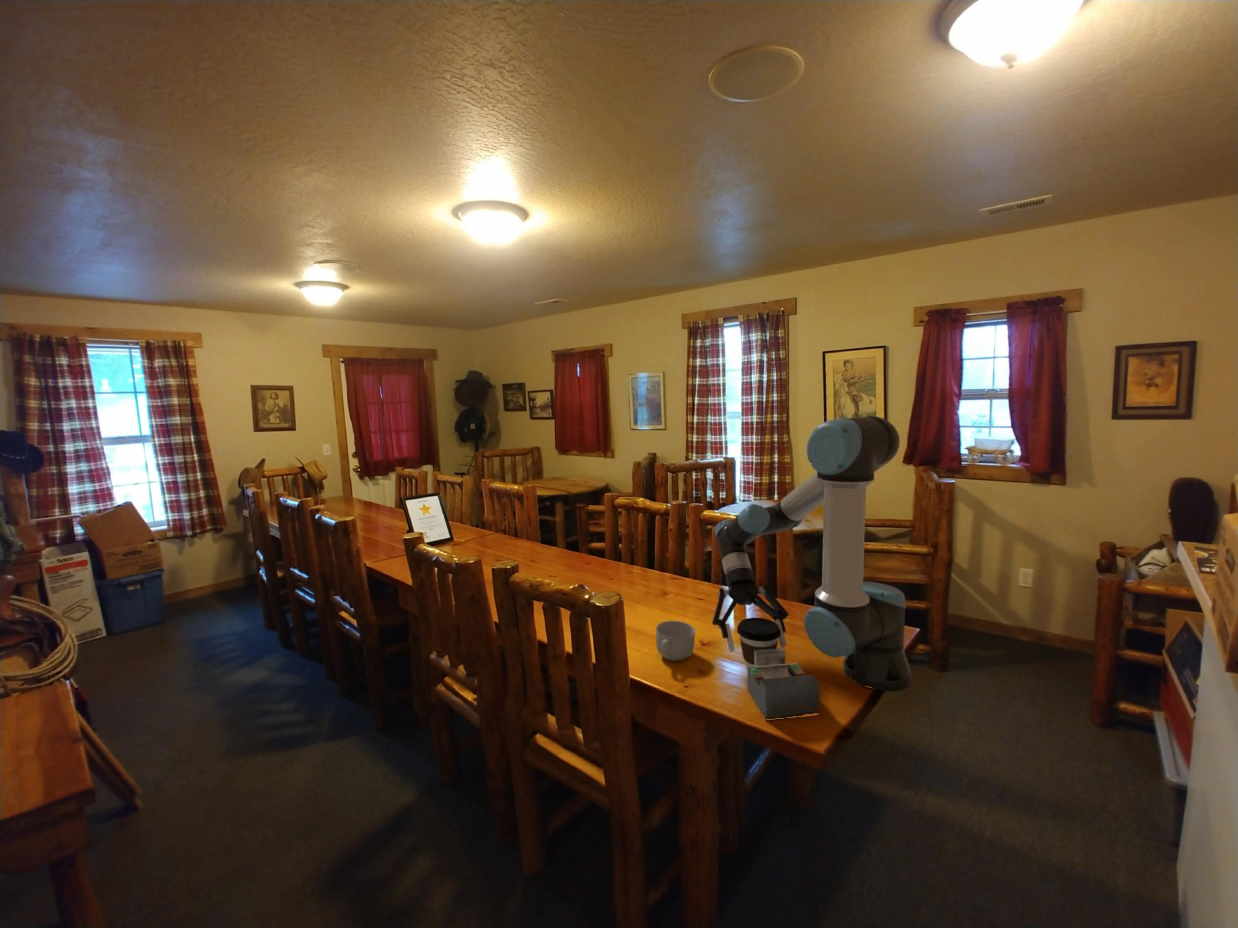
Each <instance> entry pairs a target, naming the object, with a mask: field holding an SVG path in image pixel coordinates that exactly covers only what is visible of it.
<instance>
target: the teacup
mask: <svg viewBox="0 0 1238 928" xmlns="http://www.w3.org/2000/svg"><path fill="white" fill-rule="evenodd" d="M695 634H696V629H695V627H694V626H693V625H692V624H689V623H687V622H684V621H680V620H668V621H663V622H660V623H659V624H657V625H656V627H655V645H656V650H657V652H658V653H659V654H660V655H661V657H663V658H664V659H666V660H667V661H668V660H669V661H671V662H680V661H684V660H686V659H688V658H689V657H690V656H691V655H692V654H693V652H694V650H695V649H694V648H695Z"/></svg>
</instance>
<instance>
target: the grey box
mask: <svg viewBox="0 0 1238 928" xmlns="http://www.w3.org/2000/svg"><path fill="white" fill-rule="evenodd" d="M787 670H788V672H789V673H790V674H791V675H792V677H781V678H771V679H763V676H762V675H761V673H760V672H759V670H752V668H748V670H747V692H749V693H750V694H749V693H748V694H749V696H750V695H751V696H750V697H752V698H753V699H752V698H751V699H752V700H754V701H755V703H756V704H755V703H754V704H755V706H756V705H757V706H758V708H759V709H760V711H761V712H762V714H763V715H764V717H765V719H775V718H786V717H793V716H802V715H805V714H813V713H819V711H820V710H819V708H820V707H819V706H820V705H819V704H820V703H819V701H820V681H818V679H817V678H816V677H815V676H814V674H807V675H806V672H805V671H804V670H803V669H802V668H801V666H799V664H798V666H791V667H787ZM754 701H753V702H754ZM757 706H756V707H757ZM758 708H757V709H758ZM759 709H758V710H759ZM760 711H759V712H760ZM761 712H760V713H761ZM762 714H761V715H762ZM764 717H763V718H764ZM765 719H764V720H765Z"/></svg>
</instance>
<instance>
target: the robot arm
mask: <svg viewBox="0 0 1238 928" xmlns="http://www.w3.org/2000/svg"><path fill="white" fill-rule="evenodd" d="M807 440H808V441H807V444H806V457H807V460H808V463H811V465H810V466H811V467H812V469H813V470H815V472H814V473H813V474H812V475H811V476H809V477H808V478H806V480H804V481H803V482H802V483H800V484H799V485H798V486H797V487H795V488H794V489H793V490H792V491H791V492H789V493H788V494H787V495H785V496H784V497H783V498H782V499H781V500H780V501H779V502H776V504H773V505H770V506H765V507H764V506H762V505H759V504H757V503H752V504H749V505H747V506H746V507H745V508H743V509H742V510H741V511H740V512H739V514H738V515H736V517H735V518H734V519H726V520H725V519H724V520H722V521H721V522H718V523H717V524H716V525H715V527H714V533H715V540H716V543H717V547H718V553H719V555H720V559H721V563H722V568H723V571H724V574H725V581H726V585H727V588H728V589H724V588H723V587H721V588H719V590H718V592H717V596H718V598H717V599H718V601H717V605H716V607H715V611H714V615H713V618H712V622H711V623H712V625H713V626H718V627H719V629H720V633H721V635H722V637H721V638H723V639H724V640H725V639H726V642H727V646H728V650H729V653H733V652H734V650H735V649H736V648H735V644H734V639H733V634H732V630H731V626H730V623H727V621H728V620H729V617H730V616H731V614H733V613H732V612H733V610H734V608H735V607H736V605H739V606H740V607H741V606H745V605H747V606H750V605H751V606H752V605H753V606H756V607H757V608H759V609H760V610H762V611H763V612H764V613H765V614H767V615H768V616H769V617H770V619H771V618H772V620H773V621H774V622H775V623H776V624H777V625H778V626H779V628H780V631H781V635H780V636H779V638H778V639H777V640H778V643H779V646H780V647H779V648H785V646H786V645H787V642H786V637H785V633H786V631H787V630H786V626H785V622H784V620H786V619H787V618H788V616H789V612H788V611H787V610H786V608H784V607H783V606H782V604H781V603H780V601H778V599H777V598H776V597H775V596H774V595H773V593H772V592H771V589H770V588H769V586H768V584H764V585H763V586H760V587H759V586H757V584H756V580H755V577H754V574H753V570H752V566H751V562H750V559H749V556H748V555H749V554H748V552H747V548H746V546H747V545H748V544H750V543H751V542H752V541H753V540H755V539H756V538H758V537H760V536H765V535H769V534H773V533H777V532H783V531H788V530H792V529H795V528H798V527H799V526H800V525H801V524H802V520H803V519H804V518H805V517H807V515H809V514H810V513H812V512H813V511H814V510H816V509H818V508H819V507H820V506H822V505H823V519H822V520H823V526H822V531H823V532H822V568H821V570H822V571H821V572H822V574H821V575H822V576H821V577H822V578H821V585H820V587H818V588H816V590H815V592H814V607H813V606H812V607H811V608H809V609H808V611H806V613H805V614H804V617H803V627H804V630H805V633H806V635H807V637H808V639H809V640H810V641H811V643H812V645H813V646H814V647H815V648H816V649H817V650H818V651H820V652H821V653H822V654H824V655H826V656H828V657H831V658H841V657H842V658H843V657H844V658H843V660H842V661H843V664H842V671H843V670H844V671H843V673H844V672H845V673H844V675H845V674H846V675H847V676H848V677H850V678H851V679H852V680H854V681H856V682H857V683H859V684H861V685H863V686H869V687H872V688H874V689H875V690H874V691H879V692H889V693H890V692H901V691H904V690H906V689H907V688H908V687H910V686H911V683H912V672H911V671H912V670H911V668H910V664H909V662H908V659H907V656H906V654H905V653H906V652H905V649H904V647H905V625H906V624H905V623H906V621H905V620H906V619H905V617H906V616H905V615H906V599H905V594H904V593H903V591H901V590H900V589H899V588H896V587H894V586H892V585H888V584H885V583H879V582H875V581H864V561H865V560H864V559H865V536H866V535H865V533H866V532H865V529H866V502H867V501H866V499H867V497H866V496H867V488H868V486H869V485H870V484H872V483H873V482H874V481H875V473H876V472H877V471H878V470H880V469H881V468H882V467H884V466H885V465H888V464H889V462H890V461H892V460H893V459H894V458H895V457H896V456H897V453H898V451H899V449H900V443H901V441H900V434H899V433H898V430H897V428H896V427H895V426H894V425H893V424H892V422H890V421H889V420H887V419H886V418H883V417H879V416H874V415H873V416H872V415H867V416H861V417H860V416H859V417H847V418H845V417H842V418H835V419H831V420H827V421H824V422H822V423H820V424H819V425H818V426H816V428H815V429H814V430H812V432H811V433H810V435H809V437H808V439H807ZM759 594H761V596H763V597H764V599H765V600H766V601H767V602H768V603H769V604H768V603H767V602H766V601H764V600H763V598H762V597H761V596H760V595H759ZM727 596H729V598H731V600H732V601H731V602H730V605H729V606H728V608H727V610H726V611H725V614H724V615H723V617H722V619H720V617H721V612H722V609H723V605H724V601H725V599H726V598H727ZM846 675H845V676H846ZM847 676H846V677H847ZM848 677H847V678H848ZM852 680H851V681H852ZM859 684H858V685H859ZM861 685H860V686H861ZM863 686H862V687H863Z"/></svg>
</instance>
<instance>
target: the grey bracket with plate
mask: <svg viewBox="0 0 1238 928" xmlns="http://www.w3.org/2000/svg"><path fill="white" fill-rule="evenodd" d="M754 660H755V666H754V667H752V670H759V672H760V673H761V675H762V676H763V679H771V678H781V677H792V675H791V674H790V673H789V672H788V667H791V666H798V665H799V664H798V662H789V663H786V649H785V647H783V648H781V647H779V648H778V647H777V648H776V649H765V650H754Z"/></svg>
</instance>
